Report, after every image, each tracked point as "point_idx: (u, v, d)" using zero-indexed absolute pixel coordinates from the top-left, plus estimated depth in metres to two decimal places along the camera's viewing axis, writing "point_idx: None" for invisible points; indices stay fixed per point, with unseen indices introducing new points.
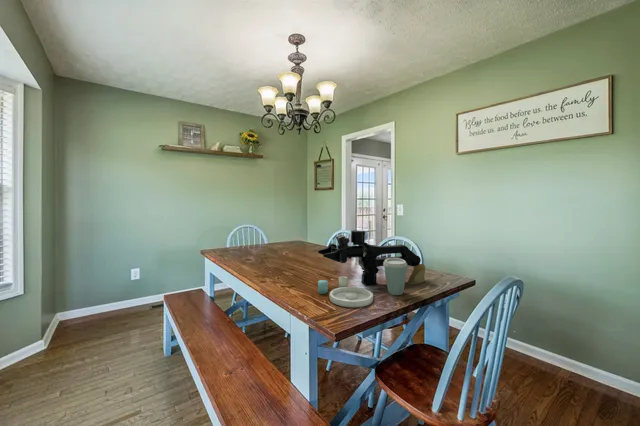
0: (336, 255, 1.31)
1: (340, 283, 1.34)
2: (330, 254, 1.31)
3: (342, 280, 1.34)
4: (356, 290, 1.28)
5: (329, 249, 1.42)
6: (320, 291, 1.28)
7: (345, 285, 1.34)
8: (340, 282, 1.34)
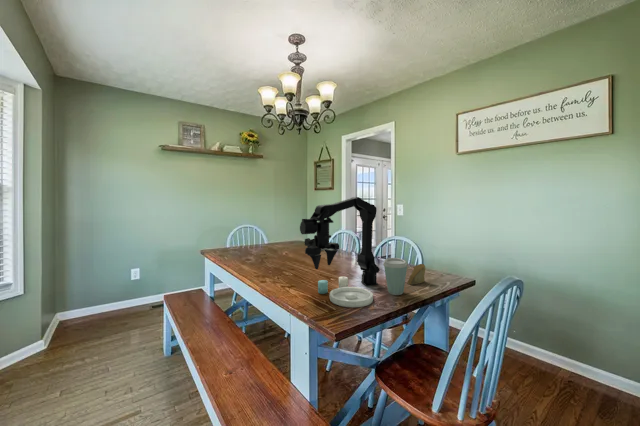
0: (315, 256, 1.25)
1: (340, 283, 1.34)
2: (314, 262, 1.25)
3: (342, 280, 1.34)
4: (356, 290, 1.28)
5: (328, 252, 1.34)
6: (320, 291, 1.28)
7: (345, 285, 1.34)
8: (340, 282, 1.34)
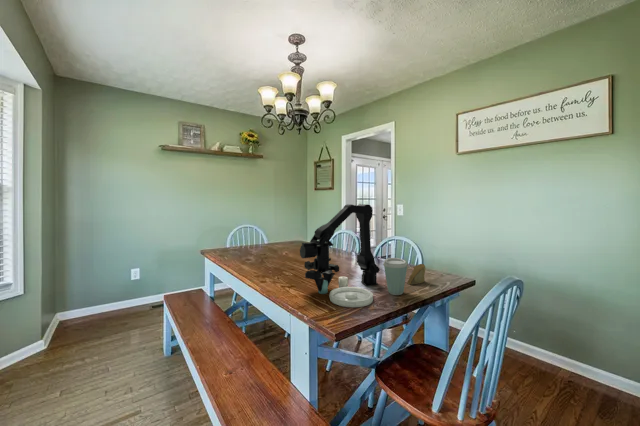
0: (318, 278, 1.27)
1: (340, 283, 1.34)
2: (317, 284, 1.28)
3: (342, 280, 1.34)
4: (356, 290, 1.28)
5: (325, 275, 1.33)
6: (320, 291, 1.28)
7: (345, 285, 1.34)
8: (340, 282, 1.34)
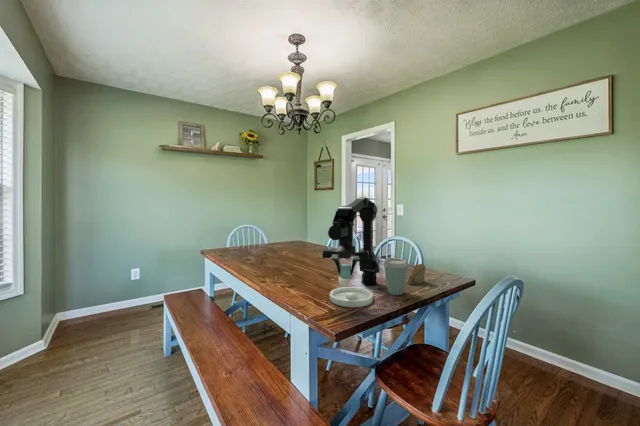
0: None
1: (340, 283, 1.34)
2: None
3: (342, 280, 1.34)
4: (356, 290, 1.28)
5: (338, 260, 1.17)
6: (350, 275, 1.18)
7: (345, 285, 1.34)
8: (340, 282, 1.34)
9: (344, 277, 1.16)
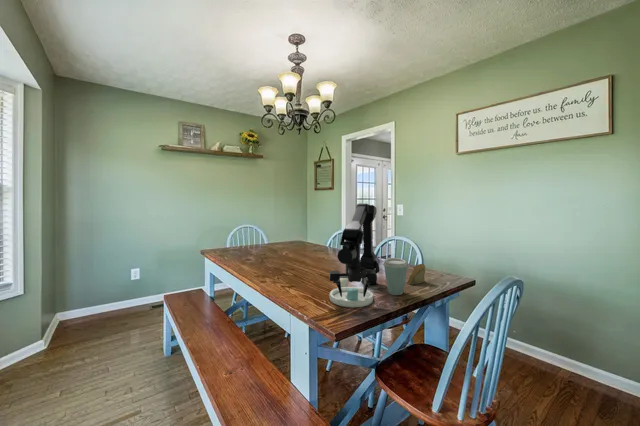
0: None
1: None
2: None
3: (342, 280, 1.34)
4: None
5: None
6: None
7: (345, 285, 1.34)
8: None
9: None
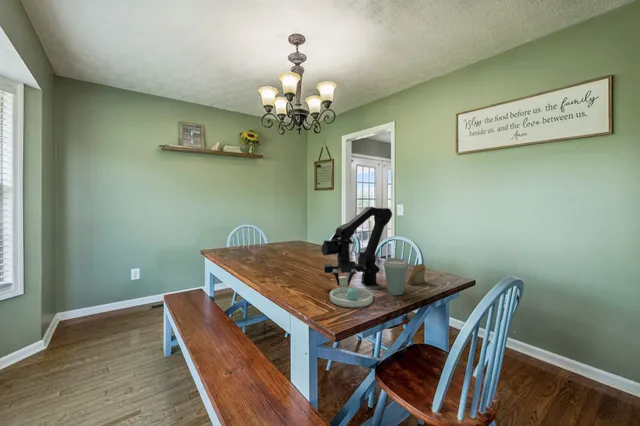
0: None
1: (340, 283, 1.34)
2: None
3: (342, 280, 1.34)
4: None
5: (337, 274, 1.35)
6: None
7: (345, 285, 1.34)
8: (340, 282, 1.34)
9: None
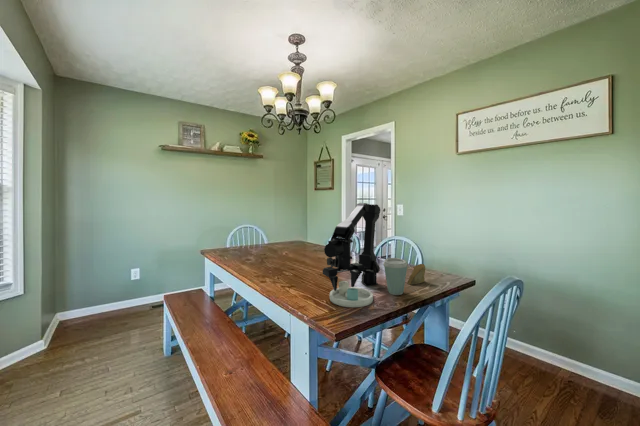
0: None
1: None
2: (332, 283, 1.23)
3: None
4: None
5: (352, 273, 1.28)
6: None
7: None
8: None
9: None
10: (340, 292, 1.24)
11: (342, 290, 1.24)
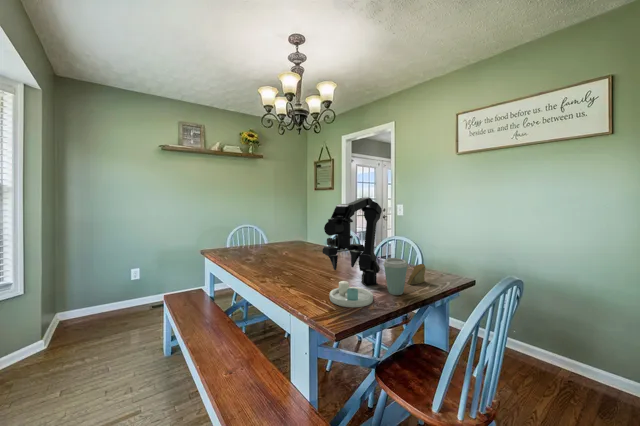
0: (332, 256, 1.22)
1: None
2: (332, 262, 1.22)
3: None
4: None
5: (352, 253, 1.28)
6: None
7: None
8: None
9: None
10: (340, 292, 1.24)
11: (342, 290, 1.24)
